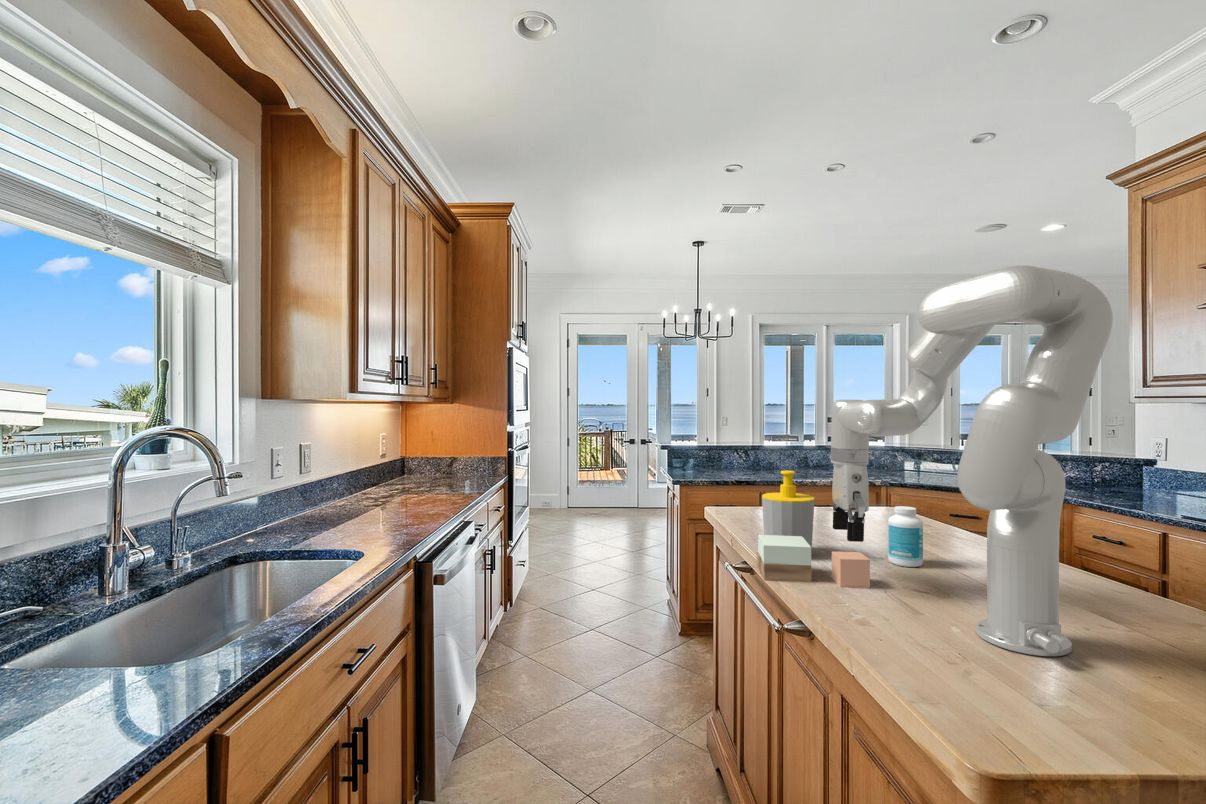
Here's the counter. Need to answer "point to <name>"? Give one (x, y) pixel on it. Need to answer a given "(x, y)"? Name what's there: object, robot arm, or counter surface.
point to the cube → (851, 569)
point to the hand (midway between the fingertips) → (847, 535)
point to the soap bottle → (788, 511)
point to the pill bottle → (905, 537)
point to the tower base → (783, 571)
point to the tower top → (784, 550)
